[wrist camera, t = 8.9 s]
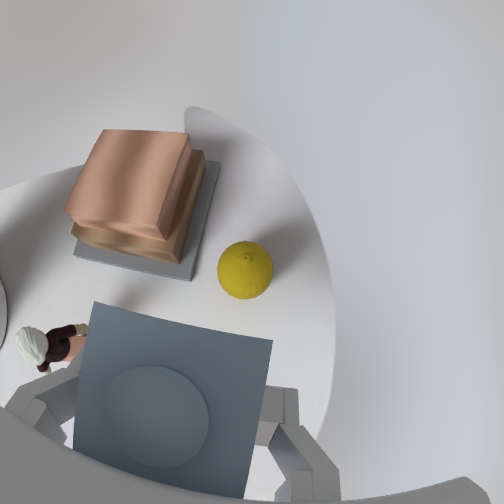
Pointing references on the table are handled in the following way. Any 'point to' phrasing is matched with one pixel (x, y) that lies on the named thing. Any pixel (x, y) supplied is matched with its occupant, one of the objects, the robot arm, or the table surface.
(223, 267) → the lemon
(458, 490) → the robot arm
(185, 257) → the baseplate
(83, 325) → the grandmother figurine
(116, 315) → the blue knobbed block
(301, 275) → the table surface
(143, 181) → the terracotta brick
